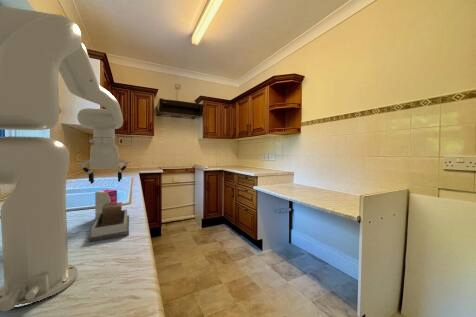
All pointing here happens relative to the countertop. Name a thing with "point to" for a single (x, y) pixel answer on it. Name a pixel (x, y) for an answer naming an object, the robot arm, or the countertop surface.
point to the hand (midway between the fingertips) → (106, 182)
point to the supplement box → (104, 199)
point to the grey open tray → (110, 223)
